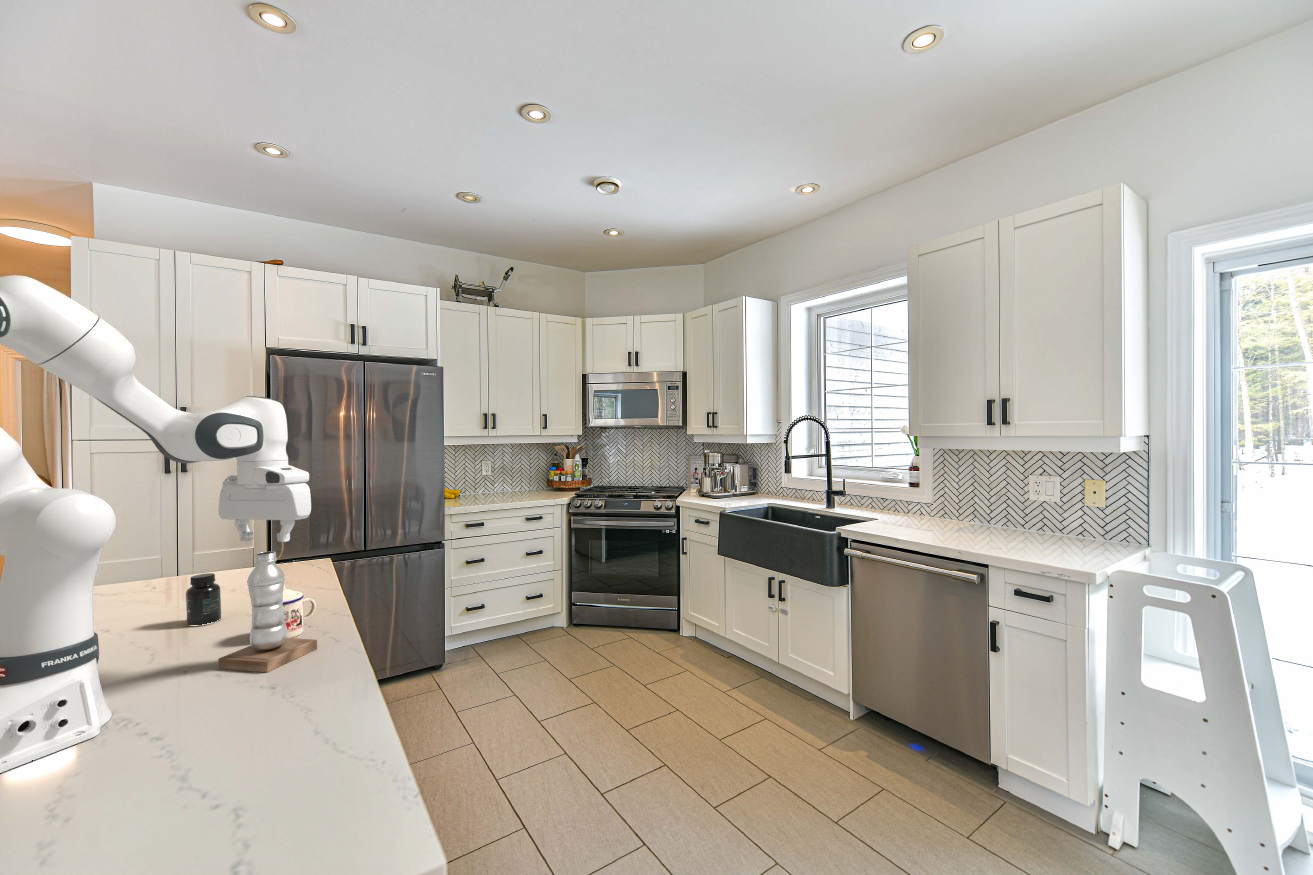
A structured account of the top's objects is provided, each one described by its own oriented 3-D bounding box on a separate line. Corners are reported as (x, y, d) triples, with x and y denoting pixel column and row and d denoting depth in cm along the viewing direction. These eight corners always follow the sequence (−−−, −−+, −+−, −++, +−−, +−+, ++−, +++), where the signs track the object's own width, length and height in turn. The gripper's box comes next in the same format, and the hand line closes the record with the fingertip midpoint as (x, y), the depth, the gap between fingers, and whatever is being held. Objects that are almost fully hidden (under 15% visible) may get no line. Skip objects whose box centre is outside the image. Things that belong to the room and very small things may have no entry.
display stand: (267, 672, 110) (267, 661, 110) (218, 668, 113) (218, 657, 113) (317, 648, 122) (316, 639, 122) (272, 645, 125) (271, 636, 125)
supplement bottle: (182, 624, 142) (180, 576, 142) (215, 616, 148) (213, 570, 148) (192, 628, 138) (190, 580, 138) (226, 620, 144) (224, 573, 144)
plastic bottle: (295, 642, 120) (292, 549, 120) (269, 655, 114) (266, 556, 113) (268, 641, 121) (265, 549, 121) (241, 654, 114) (237, 556, 114)
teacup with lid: (267, 645, 125) (265, 593, 125) (251, 637, 130) (250, 587, 130) (324, 629, 135) (323, 581, 134) (308, 622, 140) (306, 576, 140)
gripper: (208, 476, 116) (210, 543, 116) (290, 475, 112) (291, 544, 112) (237, 474, 123) (239, 537, 123) (316, 473, 118) (317, 539, 118)
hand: (264, 541), depth 117 cm, fingers open, 8 cm apart
